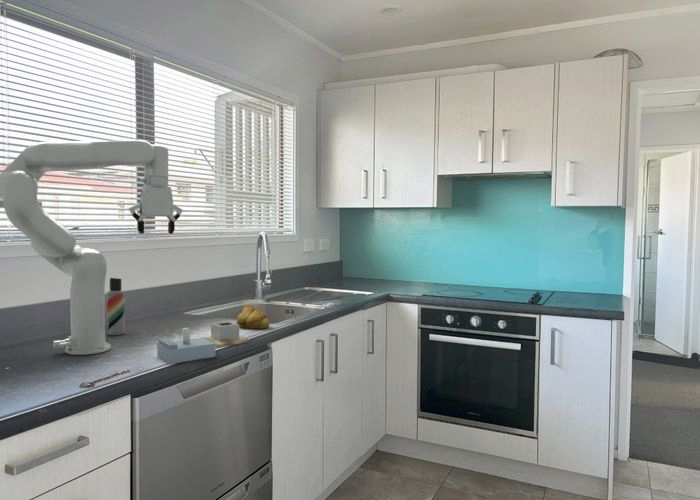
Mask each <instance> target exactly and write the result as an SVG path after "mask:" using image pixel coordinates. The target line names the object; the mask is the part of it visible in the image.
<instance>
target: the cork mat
mask: <svg viewBox="0 0 700 500" xmlns="http://www.w3.org/2000/svg"><path fill="white" fill-rule="evenodd" d="M203 338H205V339H207V340H209V341H211V342H213V343H215V348H220V347H226V346H233V345H241V344H246V343H247V344H248V343H250V342H251V340H250V339H249V338H246V337H244V336H242V335H239V339H238V340H231V341H224V342H219V341H216V340H214V339H212V338H211V336H204V337H203Z"/></svg>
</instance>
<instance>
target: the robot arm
mask: <svg viewBox="0 0 700 500" xmlns="http://www.w3.org/2000/svg"><path fill="white" fill-rule="evenodd" d="M116 166H131V167H132V166H144V176H143V177H140V178H139V182H140V183H143V185H142V187H141V191H140V200H139V203H136V204H134V205H132V206H130V207H128V210H129V212H130V214H131V216H132V217H133V218H134V219H135V221H136V222H137V232H138V233H139V234H144V233H145V222H144V220H145V218H146V217H166V218H167V220H169V221H168V222H167V223H168V225H167V233H168V234H171V235H173V234H174V232H175V229H176V227H175V223H176V222H177V220H178V219H179V218H180V217H181V215H182V212H183V209H182V208H180V207H179V206H177V205H175V204H174V197H173V191H172V187H171V186H169V148H168V146H165V145H161V144H151V143H150V142H148V140H143V139H132V140H131V139H129V140H127V139H123V140H121V139H119V140H76V141H75V140H74V141H73V140H70V141H67V140H66V141H64V140H63V141H42V142H38V143H32V144H30V145H29V146H27V147H25V149H24V150H23V151H21V152H20V154H18V156H17V157H16V158H15V159H14V160H13V161H12V162H10V164H8V166H6V167H5V169H3V170H2V172H0V199H2V200H3V208H4V212H5V214H6V217H7V219H8V220H9V222H10V223H11V224H12V225H13V226H14V227H15V228H16V229H17V230H19V232H20V233H22V234H23V235H24V236H26V237H27V238H28V239H29V240H30V244H31V247H32V249H33V250H34V251H35V252H36V253H37V254H38V255H39V256H41V257H42V258H44V260H46V261H47V262H49V263H50V264H51V265H53V266H54V267H55V268H57V269H58V270H59V271H60V272H63V273H64V274H65V275H67V276H70V277H71V284H70V289H69V292H70V293H69V301H70V302H69V303H70V306H69V307H70V335H68V338H65V339H63V340H53V343H52V344H53V348H65V349H64V350H65V353H66V354H68V355H74V356H86V355H95V354H101V353H105V352H107V351H109V350H111V348H112V346H111V343H108V342H106V298H105V294H106V293H105V291H106V289H105V286H106V277H107V271H108V263H107V259H106V258H105V256H104V254H102V253H101V252H100V251H99V250H96V249H95V248H94V249H93V248H90V247H82V246H81V245H80V244H78V243H77V240H76V236H75V234H73V232H72V231H71V230H70V229H68V228H67V227H66V226H64V224H62V223H60V222H59V221H58V220H56V219H55V218H54V217H53V216H52V215H50V214H49V213H48V212H47V211H46V210H45V209H44V208H43V207H42V206H41V205H40V203H39V199H38V191H39V184H38V181H40V179H42V177H43V176H44V175H45V174H46V172H47V173H48V172H65V171H76V170H77V171H81V170H82V171H83V170H97V169H102V168H103V169H104V168H109V167H116ZM138 209H139V213H140V214H137V212H136V210H138ZM174 211H176V213H175V214H174Z"/></svg>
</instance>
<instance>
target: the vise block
mask: <svg viewBox="0 0 700 500" xmlns="http://www.w3.org/2000/svg"><path fill="white" fill-rule="evenodd" d="M156 348H157V350H156V354H157V355H156V356H157V357H156V358H159V359H160V360H162V361H163V362H165V363H166V364H169V365H172V364H176V363H177V364H178V363H183V362H190V361H197V360H203V359H209V358H215V357H216V347H215V343H213V342H211V341H209V340H207V339H205V338H203V337H195V338H191V329H190V327H183V328H182V339H180V340H173V341H172V340H171V339H168V338H160V339H158V343H156Z"/></svg>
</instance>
